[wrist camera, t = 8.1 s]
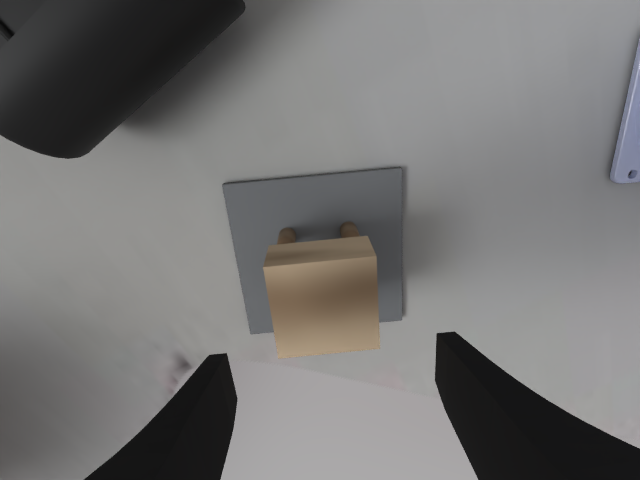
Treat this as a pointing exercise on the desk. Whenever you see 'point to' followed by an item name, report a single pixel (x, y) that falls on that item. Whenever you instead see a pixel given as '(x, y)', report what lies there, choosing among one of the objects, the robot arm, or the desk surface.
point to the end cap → (93, 63)
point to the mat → (316, 228)
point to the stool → (323, 294)
